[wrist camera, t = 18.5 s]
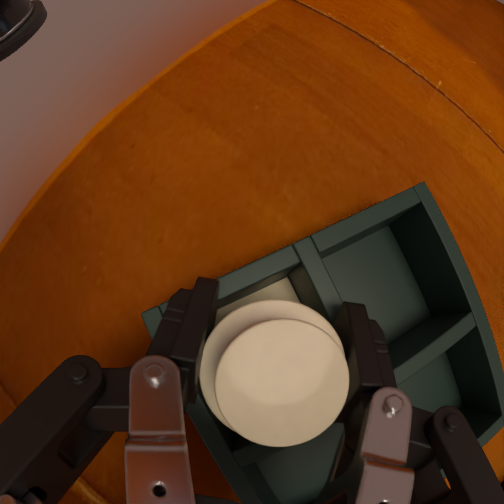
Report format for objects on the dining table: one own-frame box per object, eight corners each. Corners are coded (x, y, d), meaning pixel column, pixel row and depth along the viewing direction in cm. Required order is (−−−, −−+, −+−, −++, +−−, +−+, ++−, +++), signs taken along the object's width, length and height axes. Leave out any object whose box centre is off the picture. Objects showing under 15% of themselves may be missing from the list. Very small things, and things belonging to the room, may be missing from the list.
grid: (277, 519, 14) (286, 563, 9) (165, 315, 16) (139, 313, 12) (468, 404, 15) (513, 416, 11) (387, 210, 18) (424, 180, 13)
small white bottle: (238, 412, 14) (239, 492, 6) (198, 331, 15) (157, 340, 7) (321, 372, 15) (396, 413, 7) (282, 292, 15) (326, 260, 8)
